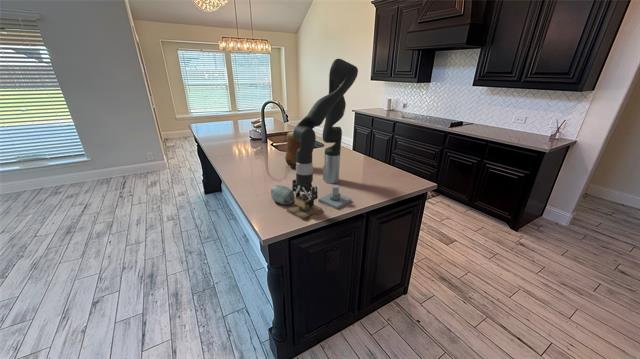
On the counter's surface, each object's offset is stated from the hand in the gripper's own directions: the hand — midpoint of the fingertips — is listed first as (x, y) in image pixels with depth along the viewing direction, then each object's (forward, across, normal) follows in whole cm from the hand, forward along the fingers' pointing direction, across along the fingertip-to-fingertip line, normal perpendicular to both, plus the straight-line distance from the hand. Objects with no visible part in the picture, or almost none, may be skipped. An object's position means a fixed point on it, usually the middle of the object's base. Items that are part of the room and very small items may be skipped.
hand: (304, 203), depth 119 cm
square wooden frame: (0, 0, 0) cm, 0 cm away
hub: (+4, +4, +18) cm, 19 cm away
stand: (+4, 0, 0) cm, 4 cm away
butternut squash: (+4, -49, +39) cm, 63 cm away
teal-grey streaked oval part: (+4, -15, -1) cm, 16 cm away
